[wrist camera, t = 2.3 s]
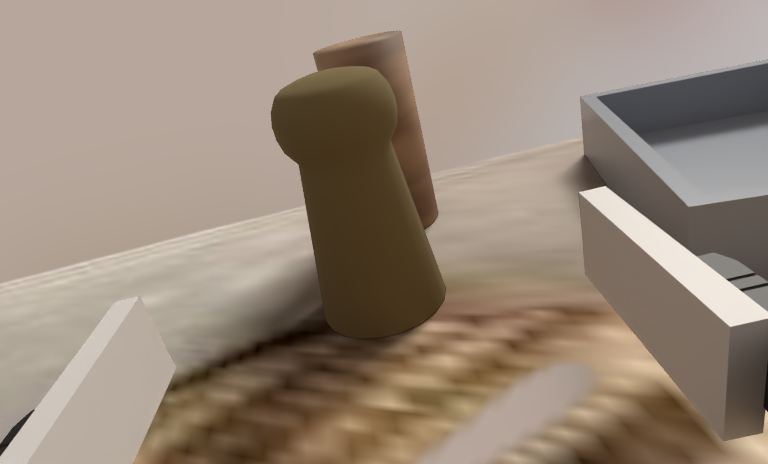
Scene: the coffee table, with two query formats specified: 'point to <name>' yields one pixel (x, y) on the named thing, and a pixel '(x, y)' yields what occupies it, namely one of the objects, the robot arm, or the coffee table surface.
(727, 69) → the tote
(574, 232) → the coffee table surface
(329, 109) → the cork
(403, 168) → the walnut cylinder
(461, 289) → the coffee table surface
